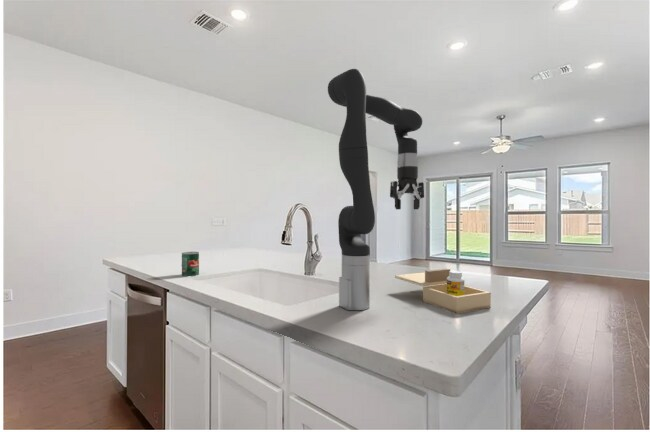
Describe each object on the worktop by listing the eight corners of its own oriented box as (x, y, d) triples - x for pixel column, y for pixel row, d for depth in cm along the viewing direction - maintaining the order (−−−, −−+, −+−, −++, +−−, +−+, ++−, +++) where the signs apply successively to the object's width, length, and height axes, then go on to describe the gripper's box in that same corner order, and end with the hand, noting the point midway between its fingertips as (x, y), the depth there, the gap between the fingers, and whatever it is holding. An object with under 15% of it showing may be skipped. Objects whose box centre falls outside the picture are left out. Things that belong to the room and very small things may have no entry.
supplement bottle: (442, 301, 111) (443, 271, 110) (453, 298, 114) (453, 269, 113) (457, 305, 106) (457, 274, 106) (467, 302, 109) (467, 272, 109)
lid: (422, 286, 113) (422, 272, 113) (395, 277, 127) (395, 265, 127) (455, 282, 120) (455, 268, 120) (426, 274, 134) (426, 262, 134)
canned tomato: (195, 276, 155) (195, 253, 155) (178, 276, 155) (178, 253, 155) (201, 273, 163) (201, 251, 163) (186, 273, 163) (185, 251, 163)
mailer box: (456, 313, 100) (456, 297, 100) (422, 301, 114) (422, 287, 113) (490, 307, 106) (490, 292, 106) (454, 296, 120) (454, 283, 120)
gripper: (415, 168, 129) (415, 209, 129) (386, 166, 123) (385, 209, 123) (429, 166, 122) (428, 209, 123) (398, 164, 116) (398, 209, 117)
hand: (407, 209), depth 123 cm, fingers open, 8 cm apart
